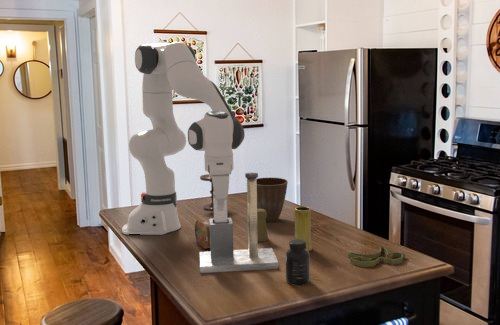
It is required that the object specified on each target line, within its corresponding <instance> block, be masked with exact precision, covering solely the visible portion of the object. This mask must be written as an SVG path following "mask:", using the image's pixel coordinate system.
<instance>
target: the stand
mask: <svg viewBox="0 0 500 325" xmlns="http://www.w3.org/2000/svg"><path fill="white" fill-rule="evenodd" d="M244 176H245V178H246V193H247V194H246V197H247V200H246V202H247V203H246V204H247V207H246V208H247V241H248V242H247V244H248V246H247V247H248V248H247V249H234V223H233V219H232V217H227V220H228V223H218V224H214V218H209V219H208V220H209V221H208V223H209V226H210V248H209V249H210V250H209V251H208V250H207V251H199V271H200V272H199V273H201V274H204V273H205V274H206V273H209V274H210V273H221V272H240V271H241V272H242V271H259V270H262V271H263V270H279V261H278V259H277V256H276V253H275V252H274V249H273V248H272V247H266V248H265V247H264V248H259V247H258V246H259V241H258V231H257V179H258V177H259V173H258V172H246V173H244Z"/></svg>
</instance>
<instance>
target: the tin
mask: <svg viewBox="0 0 500 325" xmlns="http://www.w3.org/2000/svg"><path fill="white" fill-rule="evenodd" d="M194 225H195V226H194V235H195V239H196V240H195V241H196V242H197V243H198V245H200V247H201V248H202V249H204V250H207V249H210V226H209V221H207V220H205V219H198V220H196V221H195V224H194Z"/></svg>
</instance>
